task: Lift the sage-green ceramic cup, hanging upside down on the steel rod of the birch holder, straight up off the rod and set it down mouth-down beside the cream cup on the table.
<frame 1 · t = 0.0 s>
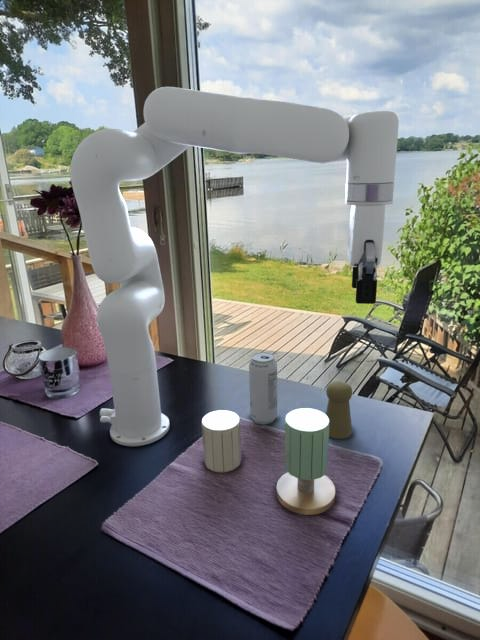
hand: (362, 295, 78), 31 cm above the table, tool pointing down, fingers open, 9 cm apart
holder: (305, 493, 76), on the table
green cup: (306, 466, 74), point 6 cm above the table, touching holder
energy drink can: (263, 419, 99), on the table
cork: (337, 431, 93), on the table
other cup: (222, 460, 85), on the table
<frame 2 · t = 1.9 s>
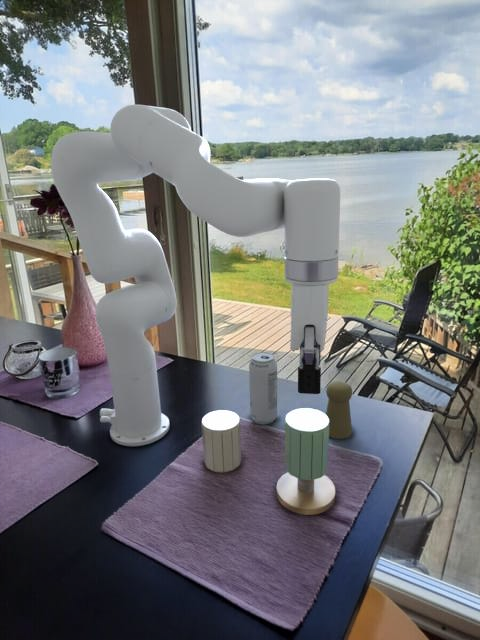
hand: (309, 377, 68), 22 cm above the table, tool pointing down, fingers open, 9 cm apart
nothing on the table moved.
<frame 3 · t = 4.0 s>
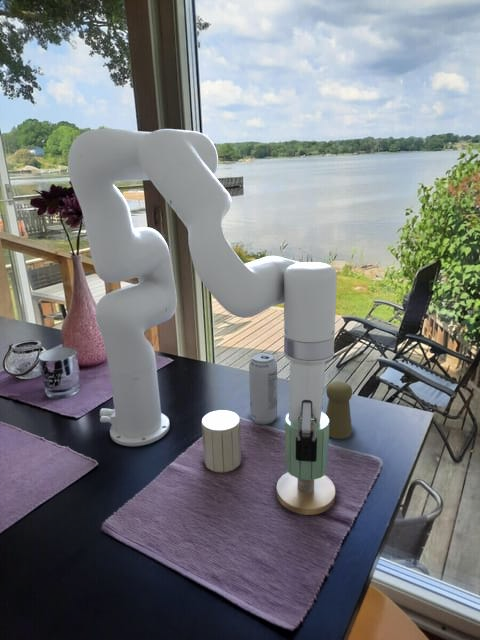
hand: (306, 444, 72), 10 cm above the table, tool pointing down, fingers closed on green cup, 7 cm apart
green cup: (306, 466, 74), point 6 cm above the table, touching gripper, holder
everything else where it was.
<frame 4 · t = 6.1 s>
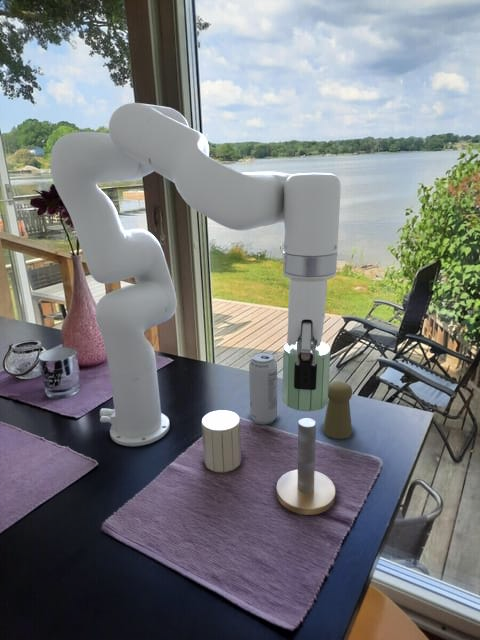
hand: (305, 375, 69), 22 cm above the table, tool pointing down, fingers closed on green cup, 7 cm apart
green cup: (305, 399, 70), point 18 cm above the table, touching gripper
everything else where it was.
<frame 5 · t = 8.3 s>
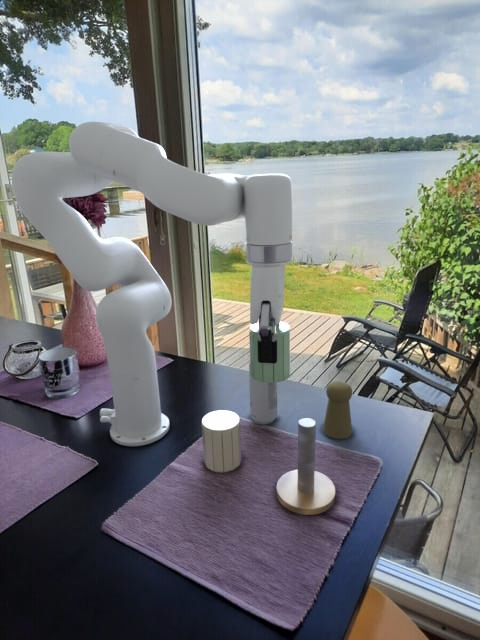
hand: (270, 352, 78), 22 cm above the table, tool pointing down, fingers closed on green cup, 7 cm apart
green cup: (270, 374, 79), point 18 cm above the table, touching gripper
everything else where it was.
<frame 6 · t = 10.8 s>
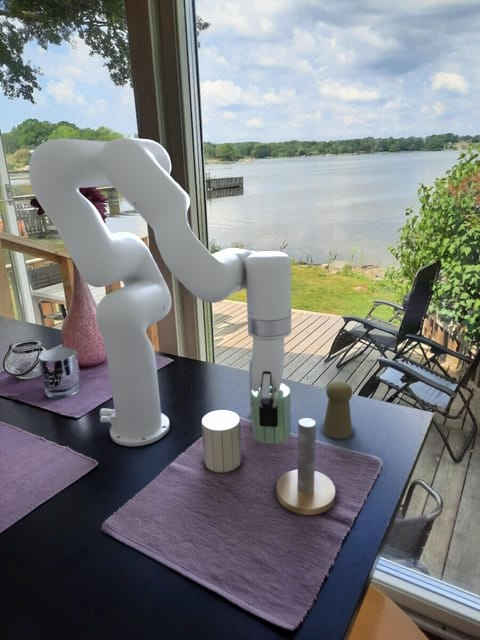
hand: (271, 413, 82), 10 cm above the table, tool pointing down, fingers closed on green cup, 7 cm apart
green cup: (271, 433, 83), point 6 cm above the table, touching gripper
everything else where it was.
when the fingers open (4 cm above the table, at t = 12.7 s): green cup stays where it is, on the table.
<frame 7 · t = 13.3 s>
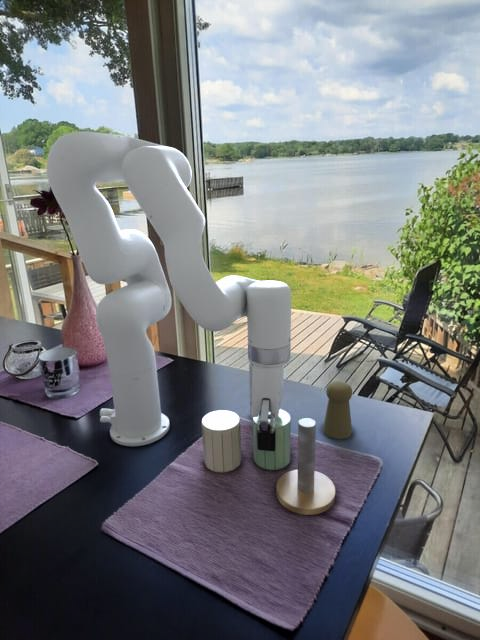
hand: (269, 434, 83), 5 cm above the table, tool pointing down, fingers open, 9 cm apart
green cup: (272, 458, 85), on the table
everything else where it was.
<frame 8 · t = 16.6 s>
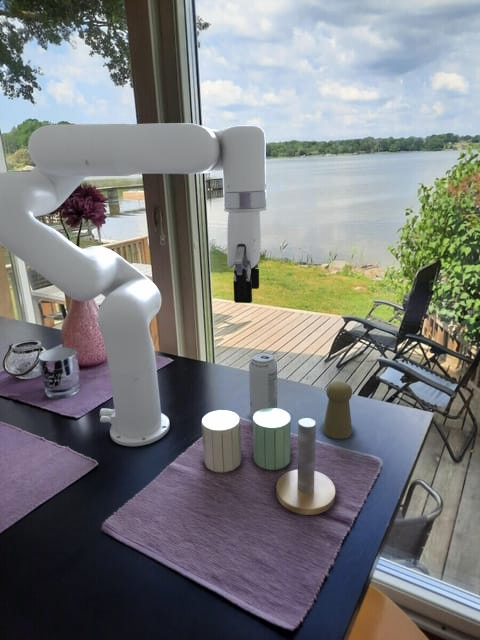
hand: (247, 295, 84), 30 cm above the table, tool pointing down, fingers open, 9 cm apart
nothing on the table moved.
at the end: green cup 9.5 cm from the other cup (horizontally); green cup on the table; green cup tilted 0° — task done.
